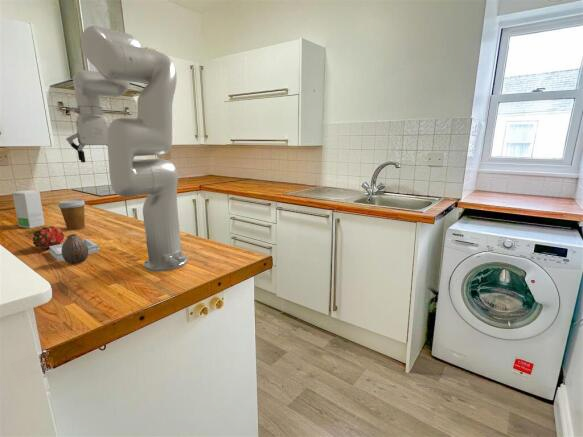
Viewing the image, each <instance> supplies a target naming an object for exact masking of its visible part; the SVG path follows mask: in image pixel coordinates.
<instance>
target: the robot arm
mask: <svg viewBox="0 0 583 437" xmlns="http://www.w3.org/2000/svg"><path fill="white" fill-rule="evenodd" d="M80 46H81V50H82V52H83V55H84V56H85V58H86V59H87V60H88V62H89V63H91V64H92V66H93V67H95V69H96V71H94V70H84V69H80V70H78V71H76V74H75V75H73V77H72V83H73V89H74V96H75V101H76V107H75V108H72V111H73V113H75V114H77V116H76V133H74V134H72V135H70V136H67V137H66V138H65V140H66V141H67V142H68V144H69V145H70V147H72V148H73V149H74V150H76V152H77V157H78V160H79V161H80V162H81V163H86V157H85V151H84V150H83V149H84V147H86V146H106V147H107V155H108V156H107V157H108V169H109V170H108V171H109V181H110V185H111V189H112V190H113V192H114V193H115V194H116V196H119V197H122V198H128V197H129V198H130V197H131V198H132V197H136V196H137V197H139V196H143V195H145V196H146V195H147V196H146V198H145V200H144V203H143V205H142V216H143V226H144V231H145V233H144V234H145V239H146V240H145V241H146V248H147V254H148V255H147V256H148V257H147V259H146V260H145V261H144V262H143V269H145V270H147V271H149V272H155V273H156V272H169V271H173V270H177V269H180V268H181V267H184V266H185V265H187V263H188V261H189V259H188V256H187V255H185V254H183V250H182V242H181V229H180V220H179V211H178V183H179V173H178V169H177V167H176V164H174V163H173V162H172V161H171V160H167V159H164V158H149V159H138V160H137V159H135V160H134V158H135V157H145V156H147V157H148V156H158V155H159V156H161V155H166V154H168V153H169V152H170V151H171V149H172V146H173V102H174V97H175V92H176V88H177V76H178V75H177V70H176V66H175V64H174V62H173V60H172V59H171V58H170V57H169V56H168V55H167V54H165V53H163V52H161V51H157V50H155V49H150V48H145V47H142V44H141V42H139V40H138V39H137V38H136V36H133V35H131V34H129V33H127V32H125V31H120V30H115V29H111V28H106V27H102V26H98V25H91V26H88V27H86V28H85V29H84V30H83V31H82V34H81V37H80ZM130 83H140V84H141V83H142V84H146V86H145V87H144V88H143V89H142V90H141V91H140V94H139V96H138V97H137V102H136V103H137V117H136V118H129V117H128V118H127V117H124V118H122V117H121V118H120V117H119V118H116V119H114V120H112V121H111V122H110V124H109V121H108V118H107V116H104V113H103V112H104V111H103V106H102V105H103V104H102V98H101V97H111V98H119V97H121V96H123V95H124V94H125V93H127V92H128V90H129V89H130ZM75 139H77V142H78V145H77V144H76V143H74V140H75Z"/></svg>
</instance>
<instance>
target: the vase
mask: <svg viewBox="0 0 583 437" xmlns="http://www.w3.org/2000/svg"><path fill="white" fill-rule="evenodd" d="M83 240H84V239H82V237H81V238H80V236H78V234H75V233H72V234H69V235H67V236H66V239H65V240H64V242H63V243H62V244H63V246H62V250H61V252H62V256H63V258H64V260H63V261H65V262H66V263H68V264H69V265H78V264H81V263H83V262H85V261H86V259H87V258H88V257H89V254H88V247H87V244H86V243H85V242H84V241H83Z"/></svg>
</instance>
